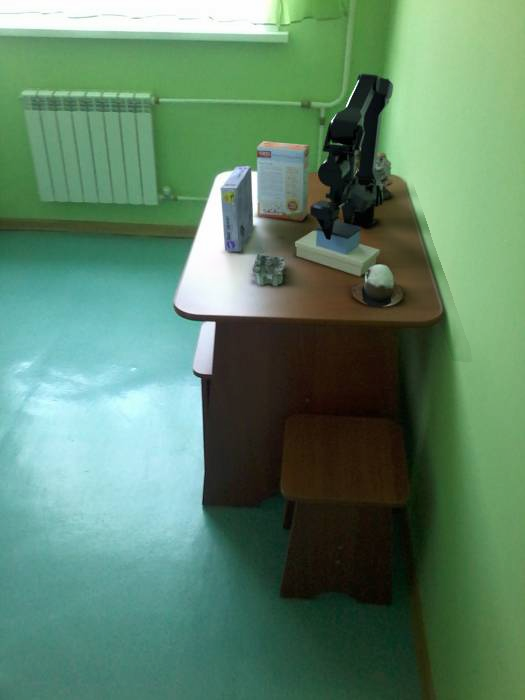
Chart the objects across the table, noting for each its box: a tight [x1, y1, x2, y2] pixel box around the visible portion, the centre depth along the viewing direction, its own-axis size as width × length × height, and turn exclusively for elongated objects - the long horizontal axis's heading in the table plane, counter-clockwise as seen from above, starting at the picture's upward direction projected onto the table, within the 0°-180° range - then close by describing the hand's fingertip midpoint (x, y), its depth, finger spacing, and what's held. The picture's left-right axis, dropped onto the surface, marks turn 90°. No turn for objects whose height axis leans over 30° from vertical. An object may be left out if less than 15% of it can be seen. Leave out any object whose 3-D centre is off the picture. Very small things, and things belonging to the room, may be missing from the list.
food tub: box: [315, 219, 362, 255], centre depth 158 cm, size 7×9×5 cm
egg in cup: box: [351, 263, 404, 308], centre depth 147 cm, size 12×10×10 cm
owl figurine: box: [354, 148, 393, 201], centre depth 195 cm, size 18×12×17 cm, turn 83°
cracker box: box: [256, 140, 310, 222], centre depth 180 cm, size 14×6×21 cm, turn 71°
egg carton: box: [252, 253, 286, 287], centre depth 154 cm, size 11×8×4 cm
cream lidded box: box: [294, 230, 381, 277], centre depth 161 cm, size 9×20×4 cm, turn 53°
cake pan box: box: [220, 165, 254, 253], centre depth 168 cm, size 19×5×18 cm, turn 169°
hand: (337, 233), depth 158 cm, fingers open, 9 cm apart
